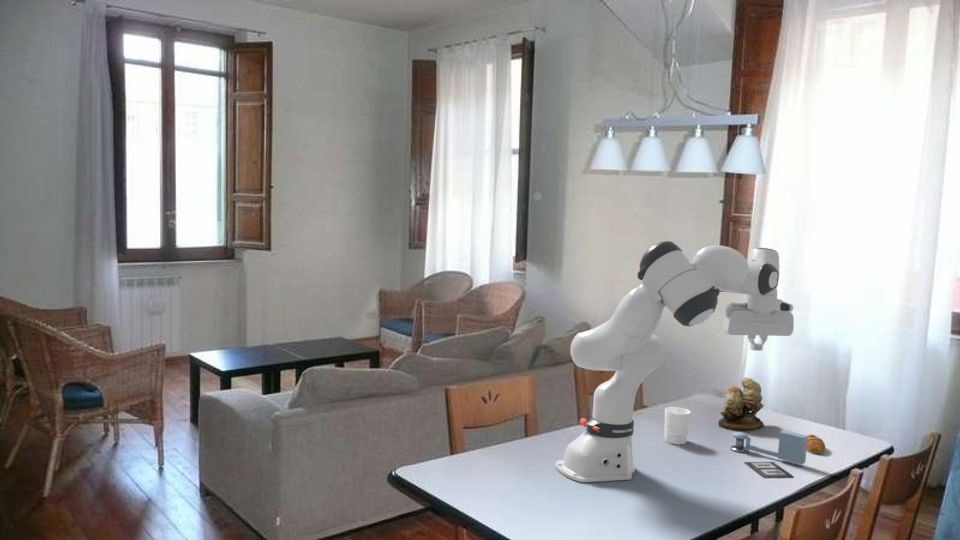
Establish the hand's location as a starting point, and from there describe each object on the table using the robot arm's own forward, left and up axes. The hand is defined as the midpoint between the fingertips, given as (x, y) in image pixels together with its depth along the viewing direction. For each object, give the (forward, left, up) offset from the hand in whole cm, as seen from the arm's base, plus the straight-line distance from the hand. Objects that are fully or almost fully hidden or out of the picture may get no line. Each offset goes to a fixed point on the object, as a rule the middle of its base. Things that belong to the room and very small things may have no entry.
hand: (756, 350), depth 216 cm
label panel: (-1, -9, -33) cm, 34 cm away
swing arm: (+7, -1, -32) cm, 33 cm away
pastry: (+28, 0, -34) cm, 44 cm away
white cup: (-10, +20, -33) cm, 40 cm away
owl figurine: (+24, +26, -33) cm, 49 cm away
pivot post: (+4, +7, -33) cm, 34 cm away
